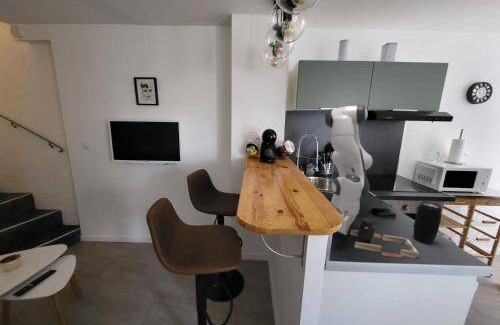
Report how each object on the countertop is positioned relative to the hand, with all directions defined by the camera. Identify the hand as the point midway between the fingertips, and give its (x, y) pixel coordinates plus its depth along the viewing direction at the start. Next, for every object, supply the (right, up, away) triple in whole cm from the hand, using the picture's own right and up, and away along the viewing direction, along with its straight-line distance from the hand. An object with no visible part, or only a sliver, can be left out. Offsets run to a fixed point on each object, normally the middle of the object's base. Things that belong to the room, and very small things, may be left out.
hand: (345, 233), depth 105 cm
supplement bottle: (+9, -4, -2) cm, 10 cm away
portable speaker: (+40, -4, +2) cm, 41 cm away
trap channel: (+16, -4, -3) cm, 17 cm away
